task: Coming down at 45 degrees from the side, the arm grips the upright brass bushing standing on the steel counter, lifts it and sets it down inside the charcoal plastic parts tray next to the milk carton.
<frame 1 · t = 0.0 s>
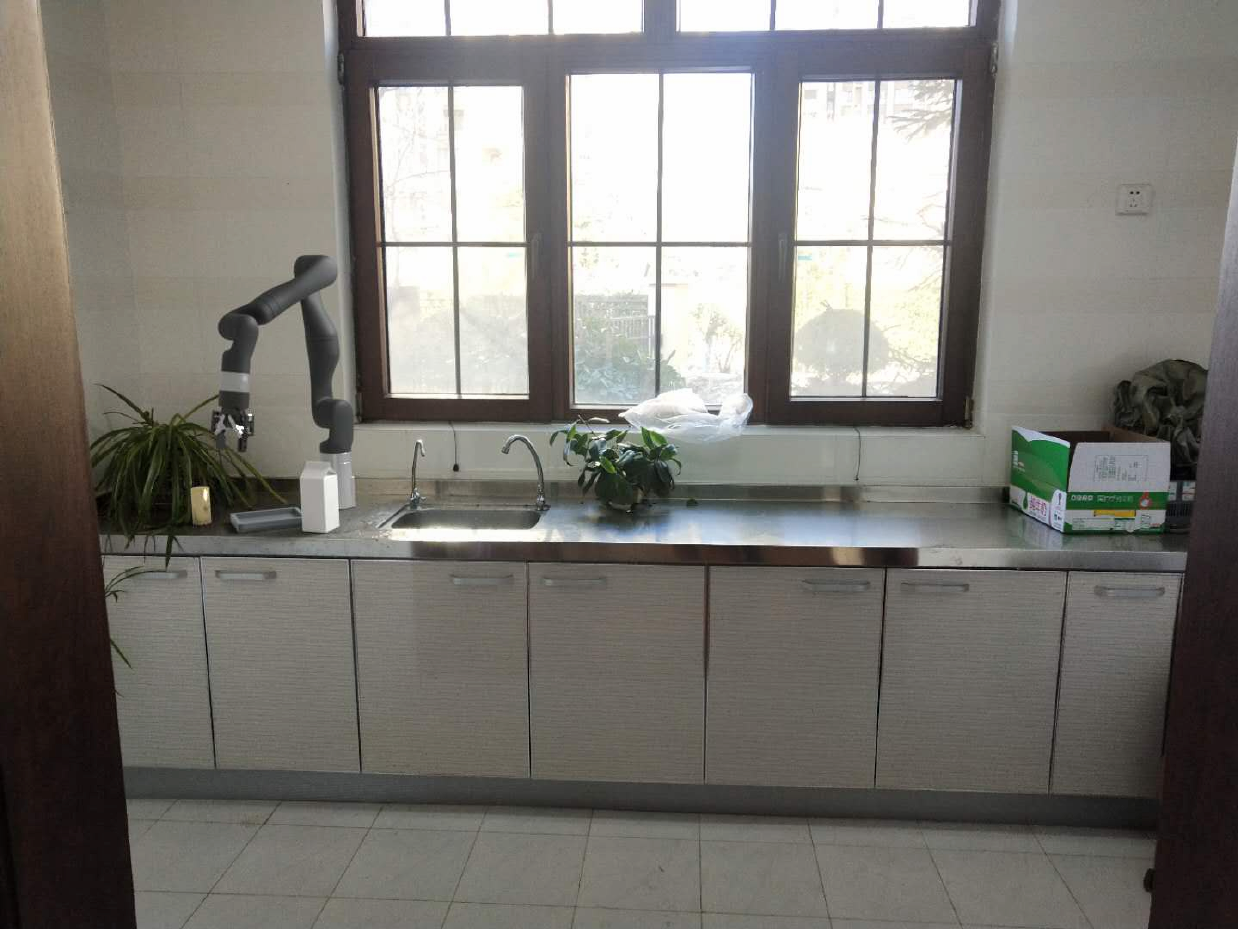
hand: (230, 450, 225), 22 cm above the worktop, tool pointing down, fingers open, 8 cm apart
brass bushing: (202, 523, 238), on the worktop
tray: (269, 523, 238), on the worktop
milk carton: (321, 530, 234), on the worktop
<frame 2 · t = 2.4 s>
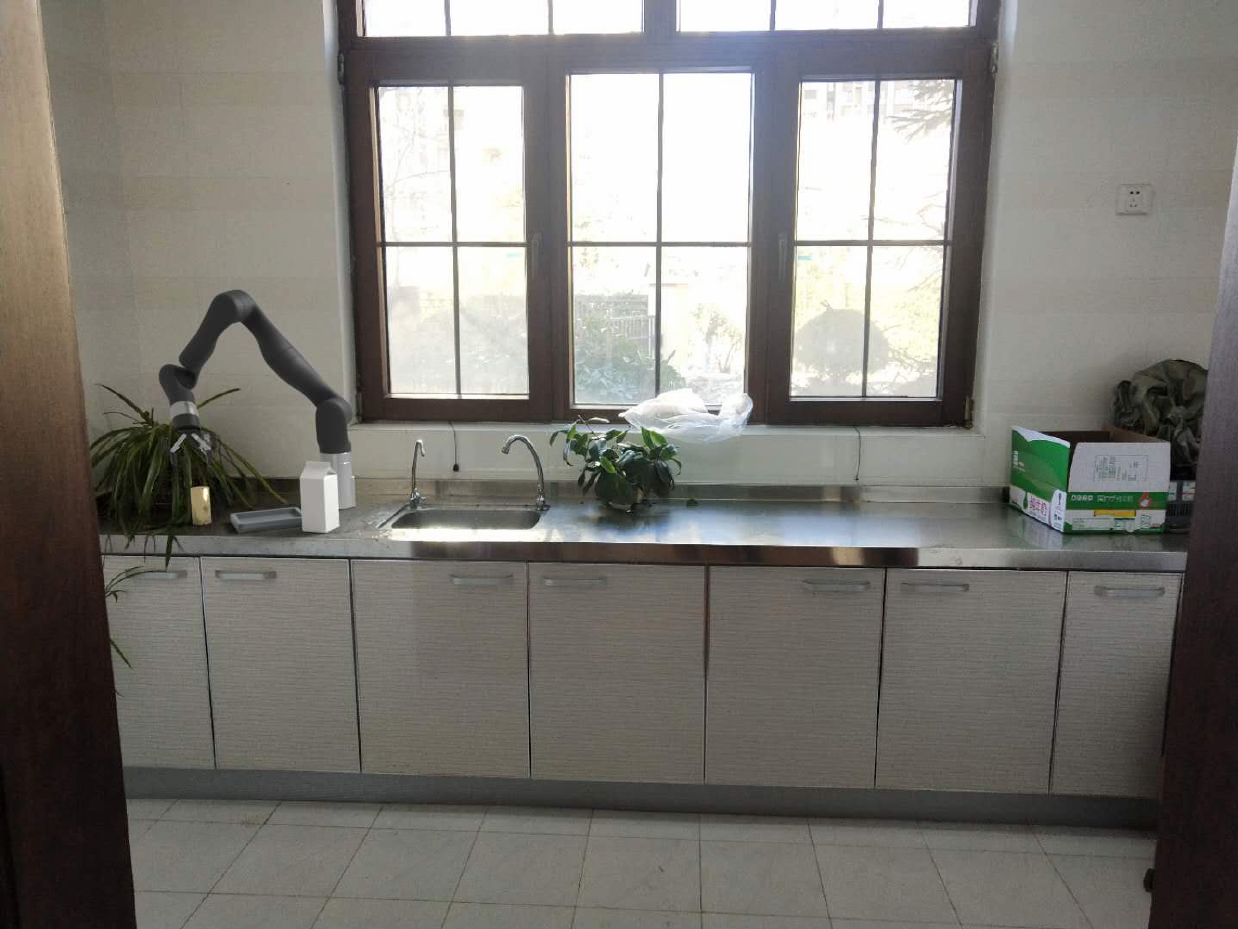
hand: (192, 464, 245), 15 cm above the worktop, tool tilted 45°, fingers open, 8 cm apart
nothing on the worktop moved.
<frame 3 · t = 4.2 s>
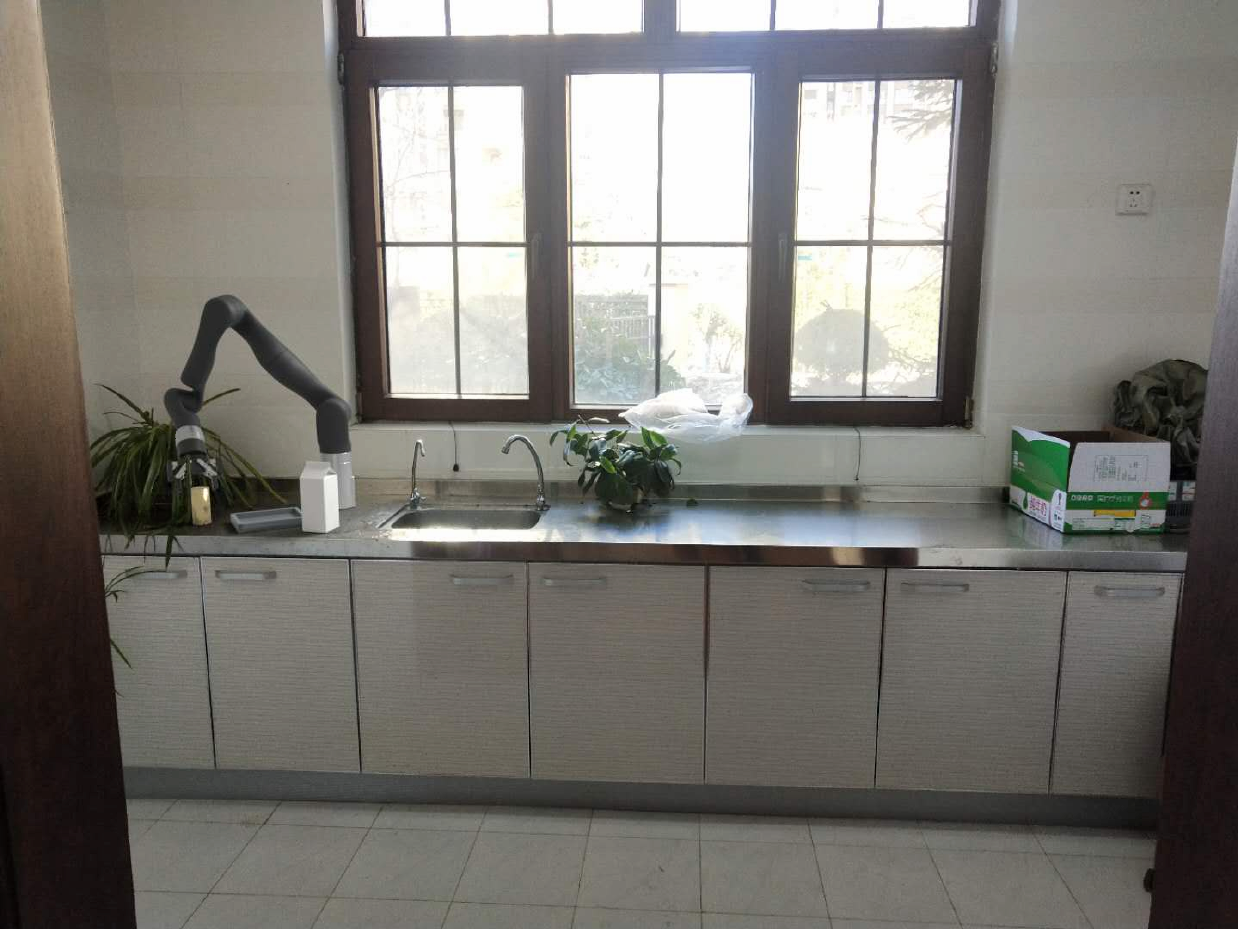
hand: (198, 490, 240), 9 cm above the worktop, tool tilted 45°, fingers open, 8 cm apart
nothing on the worktop moved.
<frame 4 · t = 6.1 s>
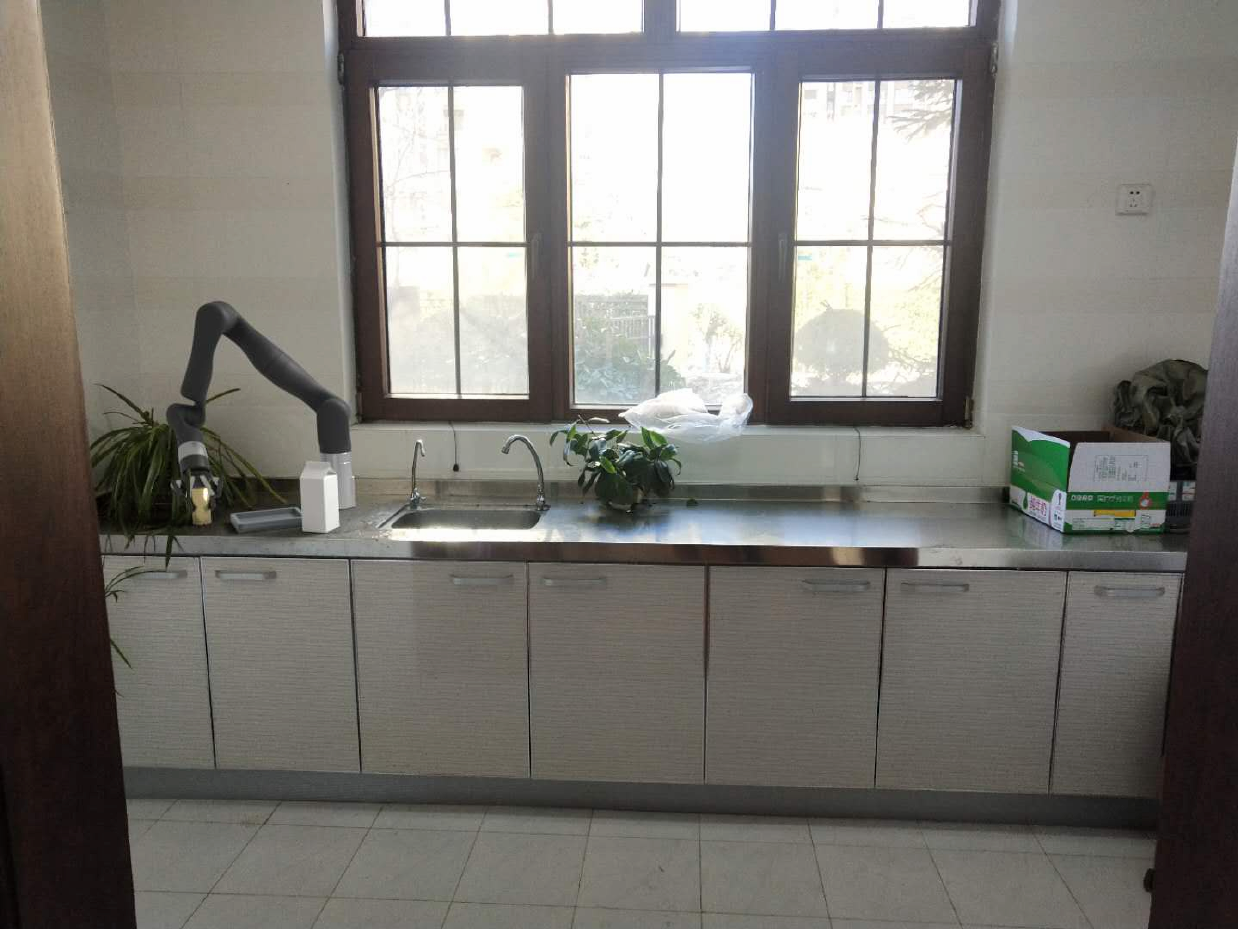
hand: (202, 510, 236), 4 cm above the worktop, tool tilted 45°, fingers closed on brass bushing, 4 cm apart
brass bushing: (202, 522, 238), on the worktop, touching gripper
everything else where it was.
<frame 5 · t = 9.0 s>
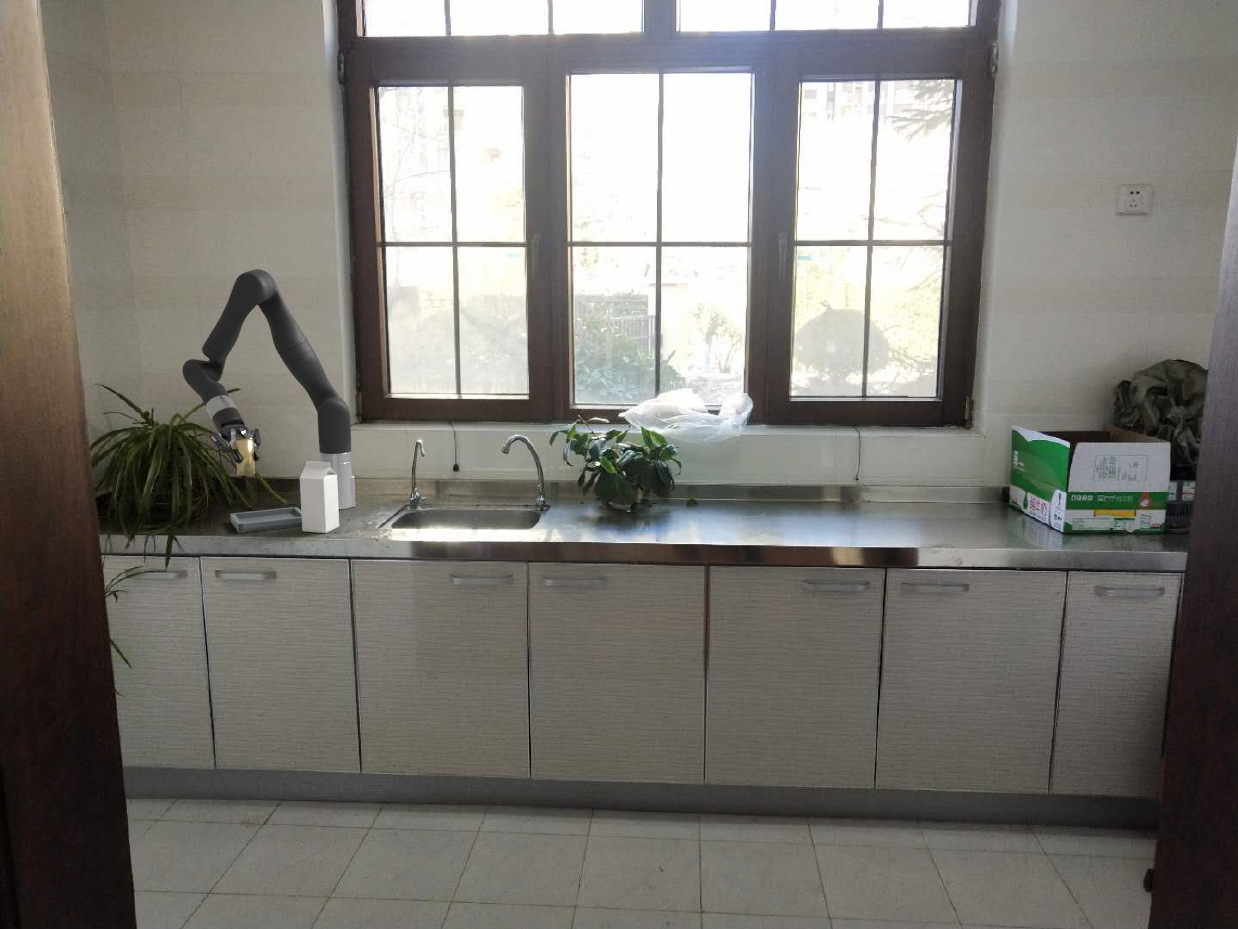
hand: (249, 460, 241), 17 cm above the worktop, tool tilted 45°, fingers closed on brass bushing, 4 cm apart
brass bushing: (246, 474, 243), point 13 cm above the worktop, touching gripper
everything else where it was.
when the fingers open (6 cm above the worktop, at t = 12.0 s): brass bushing drops 1 cm, resting on tray.
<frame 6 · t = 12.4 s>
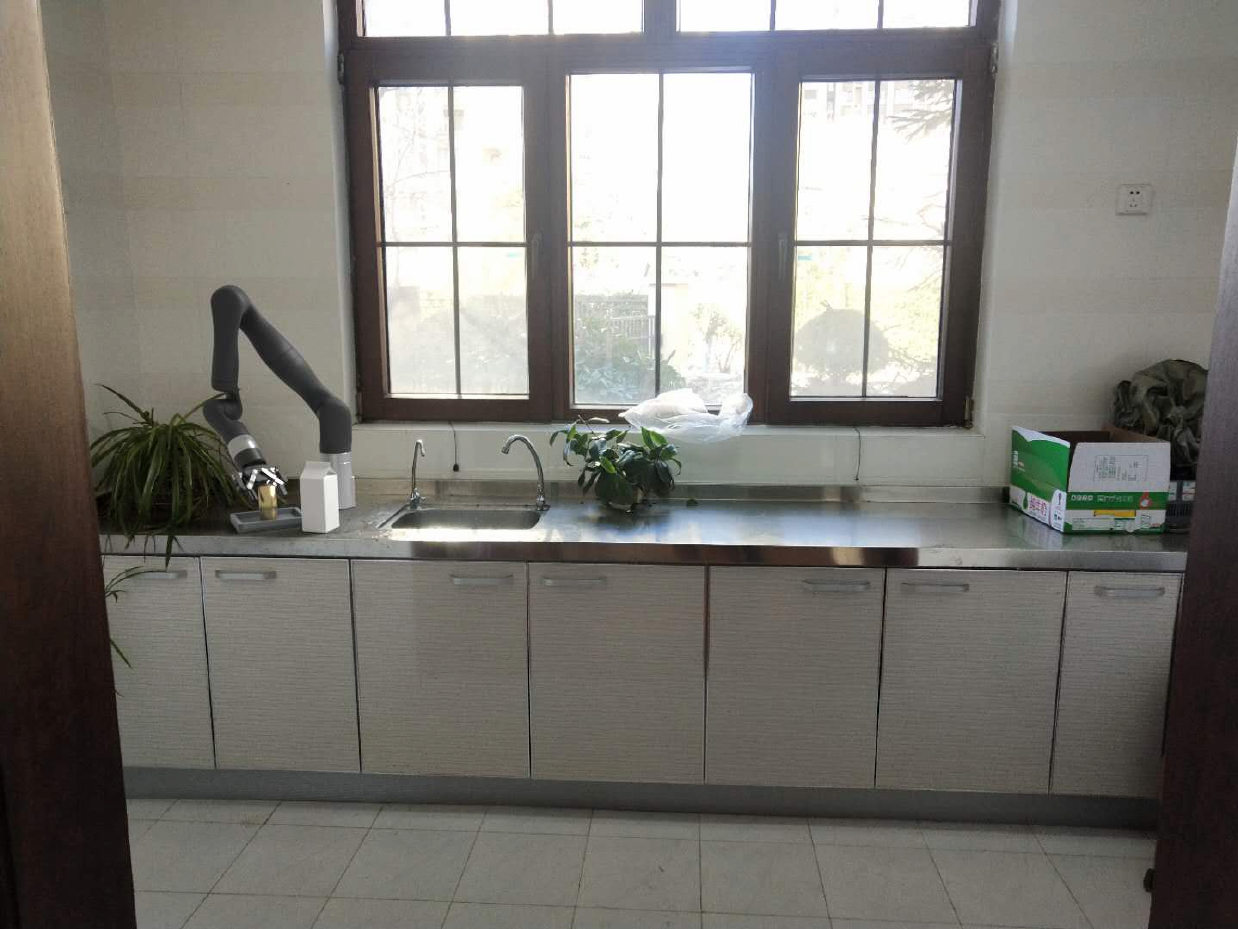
hand: (270, 499, 236), 7 cm above the worktop, tool tilted 45°, fingers open, 8 cm apart
brass bushing: (268, 520, 238), point 1 cm above the worktop, touching tray
everything else where it was.
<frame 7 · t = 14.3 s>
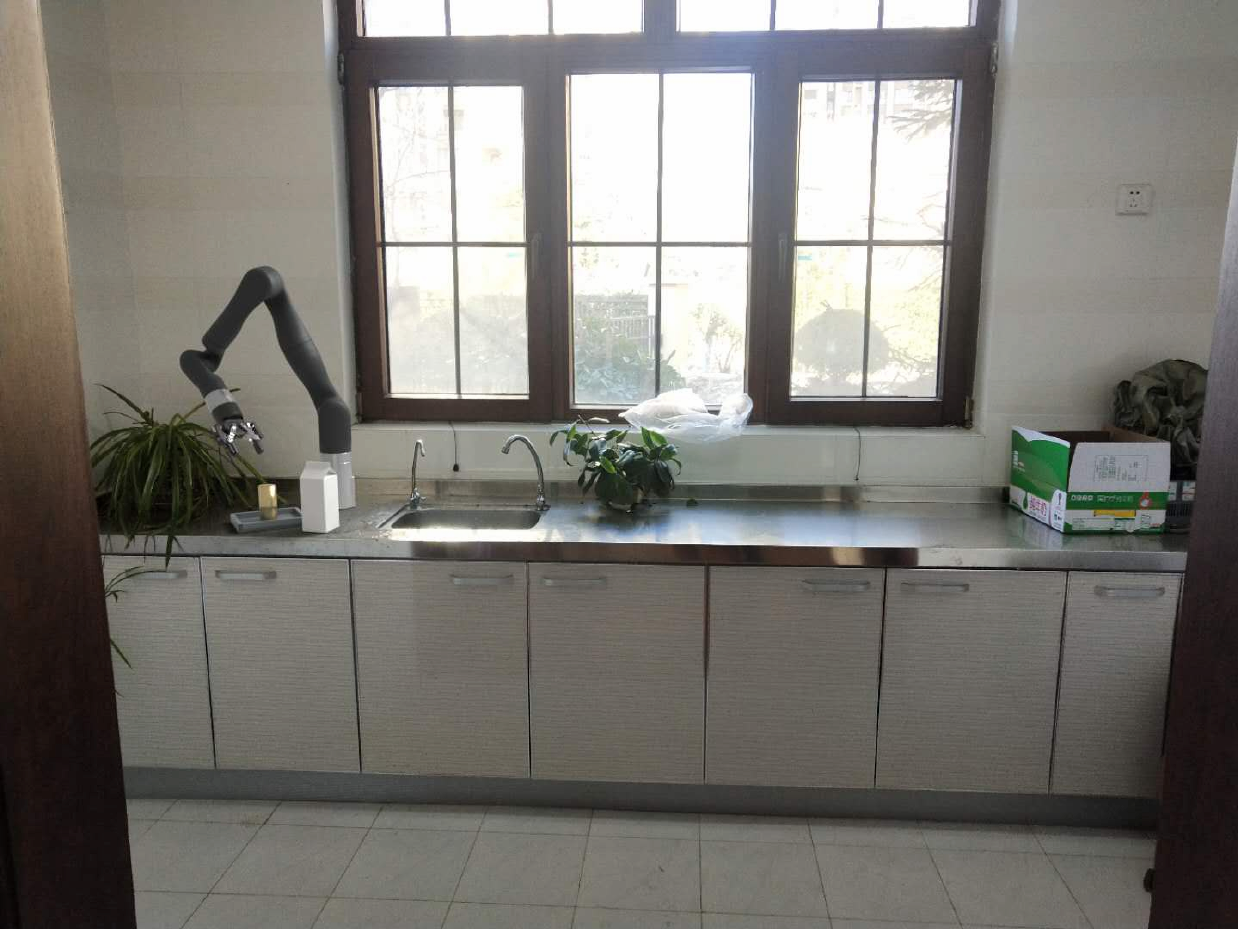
hand: (249, 454, 243), 18 cm above the worktop, tool tilted 40°, fingers open, 8 cm apart
nothing on the worktop moved.
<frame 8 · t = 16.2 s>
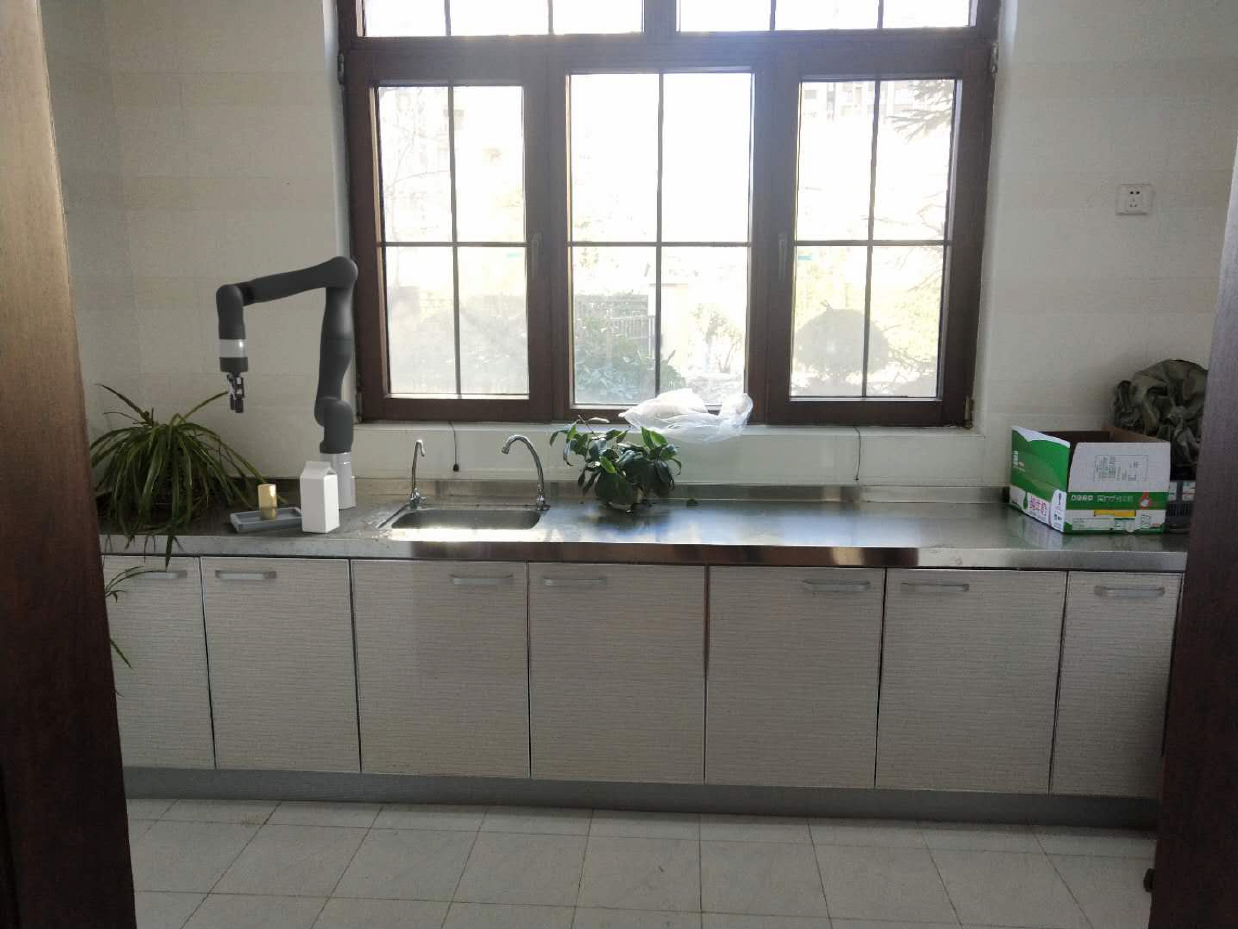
hand: (237, 411, 246), 30 cm above the worktop, tool pointing down, fingers open, 8 cm apart
nothing on the worktop moved.
at the end: brass bushing inside the target area on the tray (0.1 cm from its centre), point 1.0 cm above the tray's base; brass bushing tilted 0°; the gripper is holding nothing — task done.
